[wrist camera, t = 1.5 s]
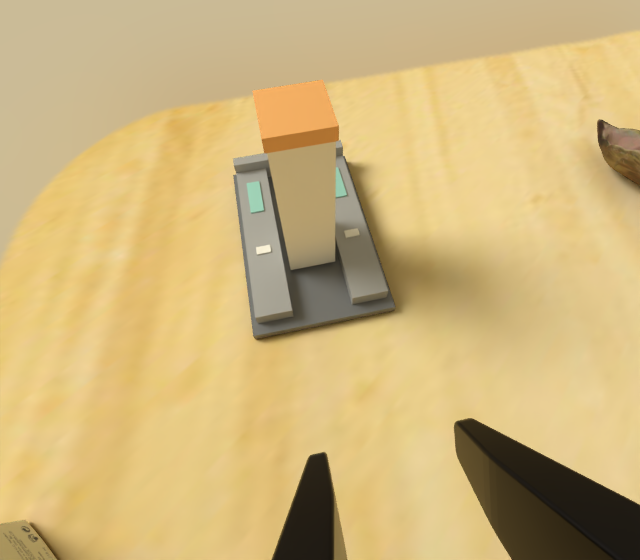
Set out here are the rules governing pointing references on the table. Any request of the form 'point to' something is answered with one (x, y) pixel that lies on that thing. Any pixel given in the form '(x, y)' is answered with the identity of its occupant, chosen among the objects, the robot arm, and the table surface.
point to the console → (310, 282)
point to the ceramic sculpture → (620, 149)
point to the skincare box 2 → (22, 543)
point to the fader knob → (302, 167)
